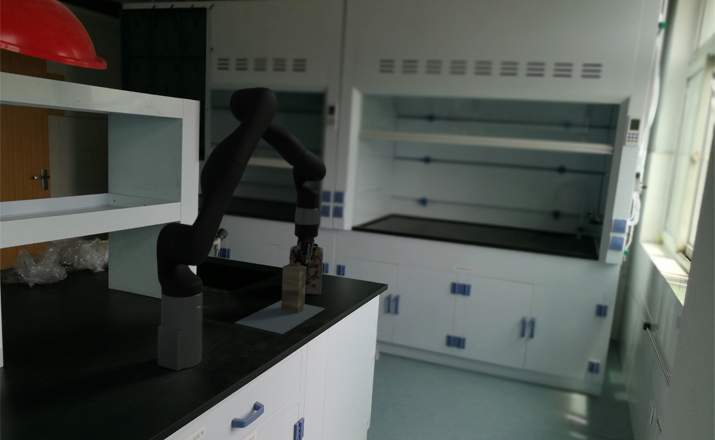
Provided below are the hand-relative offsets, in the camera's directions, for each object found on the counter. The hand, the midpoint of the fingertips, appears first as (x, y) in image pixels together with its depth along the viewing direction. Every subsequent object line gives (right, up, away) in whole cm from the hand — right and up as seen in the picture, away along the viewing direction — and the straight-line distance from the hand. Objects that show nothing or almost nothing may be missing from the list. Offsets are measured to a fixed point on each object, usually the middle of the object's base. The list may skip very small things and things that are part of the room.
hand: (304, 274), depth 168 cm
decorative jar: (-2, -8, +19) cm, 21 cm away
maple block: (-3, -11, -4) cm, 12 cm away
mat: (-6, -12, -10) cm, 17 cm away
